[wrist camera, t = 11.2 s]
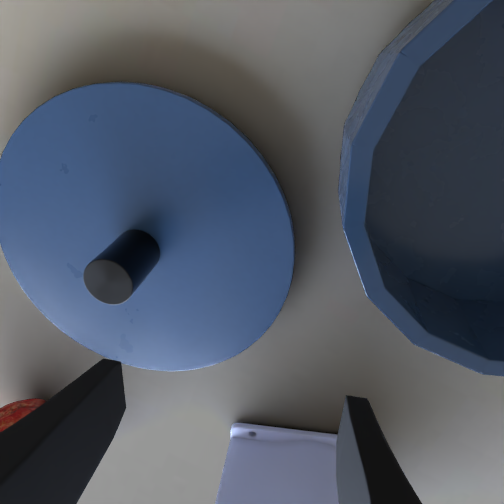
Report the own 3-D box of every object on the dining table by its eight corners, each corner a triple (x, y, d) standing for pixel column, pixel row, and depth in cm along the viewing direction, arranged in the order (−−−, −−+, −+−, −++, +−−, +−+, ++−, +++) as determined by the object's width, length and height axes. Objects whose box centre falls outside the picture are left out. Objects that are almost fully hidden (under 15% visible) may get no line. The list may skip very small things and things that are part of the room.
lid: (44, 346, 28) (-7, 399, 23) (-30, 80, 21) (-122, 86, 16) (290, 370, 25) (284, 434, 21) (303, 81, 18) (298, 88, 14)
